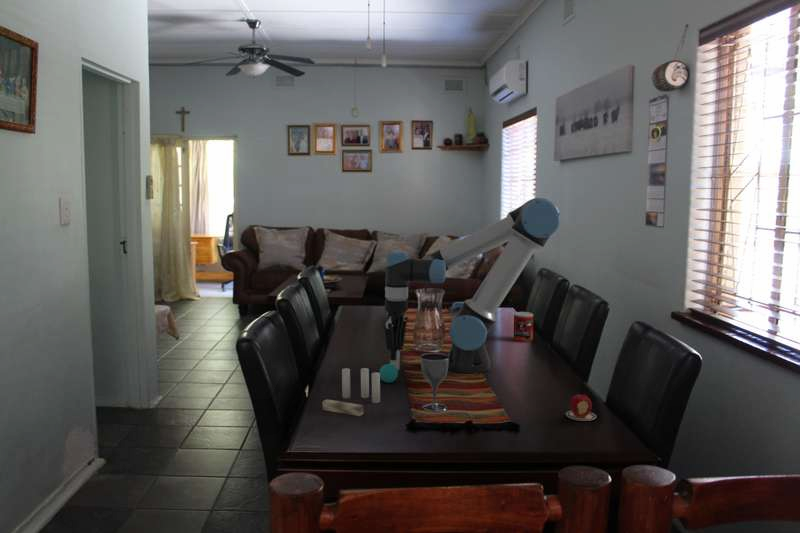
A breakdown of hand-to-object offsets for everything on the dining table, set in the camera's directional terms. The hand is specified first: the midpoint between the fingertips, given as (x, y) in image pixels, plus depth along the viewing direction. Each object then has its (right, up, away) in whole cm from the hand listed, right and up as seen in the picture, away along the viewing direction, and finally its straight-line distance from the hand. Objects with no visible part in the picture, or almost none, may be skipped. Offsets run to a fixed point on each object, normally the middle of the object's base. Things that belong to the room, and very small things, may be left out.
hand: (394, 369), depth 215 cm
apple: (+51, -7, -38) cm, 64 cm away
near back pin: (-5, -6, -25) cm, 26 cm away
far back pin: (-14, -5, -21) cm, 26 cm away
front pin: (-9, -5, -20) cm, 23 cm away
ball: (-2, 0, -7) cm, 7 cm away
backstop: (-14, -7, -33) cm, 37 cm away
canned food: (+52, +4, +50) cm, 72 cm away
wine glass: (+12, -6, -30) cm, 33 cm away
